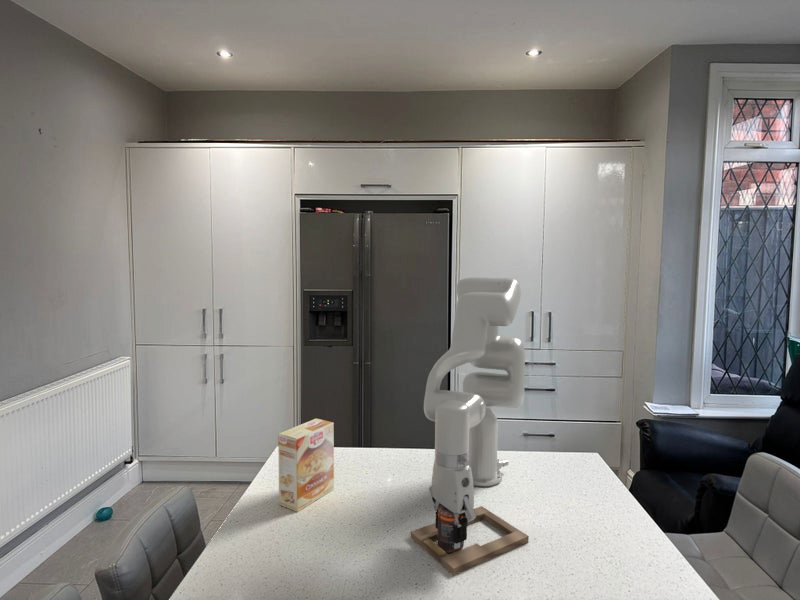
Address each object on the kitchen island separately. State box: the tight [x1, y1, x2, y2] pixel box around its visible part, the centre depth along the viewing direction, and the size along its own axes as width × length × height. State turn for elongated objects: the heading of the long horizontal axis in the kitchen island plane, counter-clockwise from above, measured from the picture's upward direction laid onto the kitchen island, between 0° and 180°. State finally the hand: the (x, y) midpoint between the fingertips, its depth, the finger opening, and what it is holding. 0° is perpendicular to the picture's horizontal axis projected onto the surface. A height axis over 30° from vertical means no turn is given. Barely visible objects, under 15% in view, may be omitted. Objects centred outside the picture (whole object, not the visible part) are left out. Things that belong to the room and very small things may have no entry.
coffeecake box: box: [277, 418, 335, 513], centre depth 134 cm, size 15×7×20 cm, turn 148°
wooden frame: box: [410, 505, 529, 576], centre depth 114 cm, size 22×16×2 cm
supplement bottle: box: [437, 505, 465, 554], centre depth 111 cm, size 6×6×11 cm
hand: (450, 533), depth 111 cm, fingers closed on supplement bottle, 6 cm apart
